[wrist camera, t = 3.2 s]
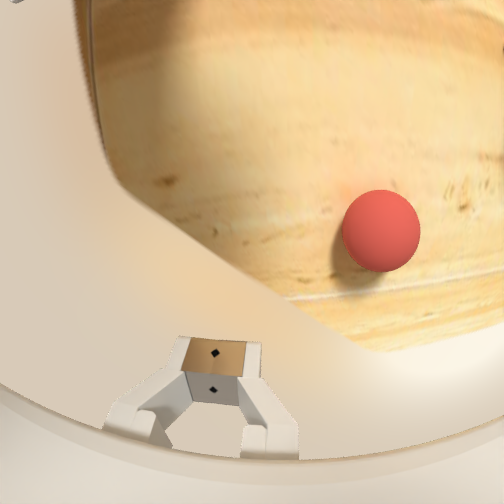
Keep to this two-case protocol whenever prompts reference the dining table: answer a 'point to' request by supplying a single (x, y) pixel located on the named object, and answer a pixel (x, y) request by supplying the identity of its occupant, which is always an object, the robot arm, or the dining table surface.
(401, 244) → the ball
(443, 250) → the dining table surface
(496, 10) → the dining table surface
